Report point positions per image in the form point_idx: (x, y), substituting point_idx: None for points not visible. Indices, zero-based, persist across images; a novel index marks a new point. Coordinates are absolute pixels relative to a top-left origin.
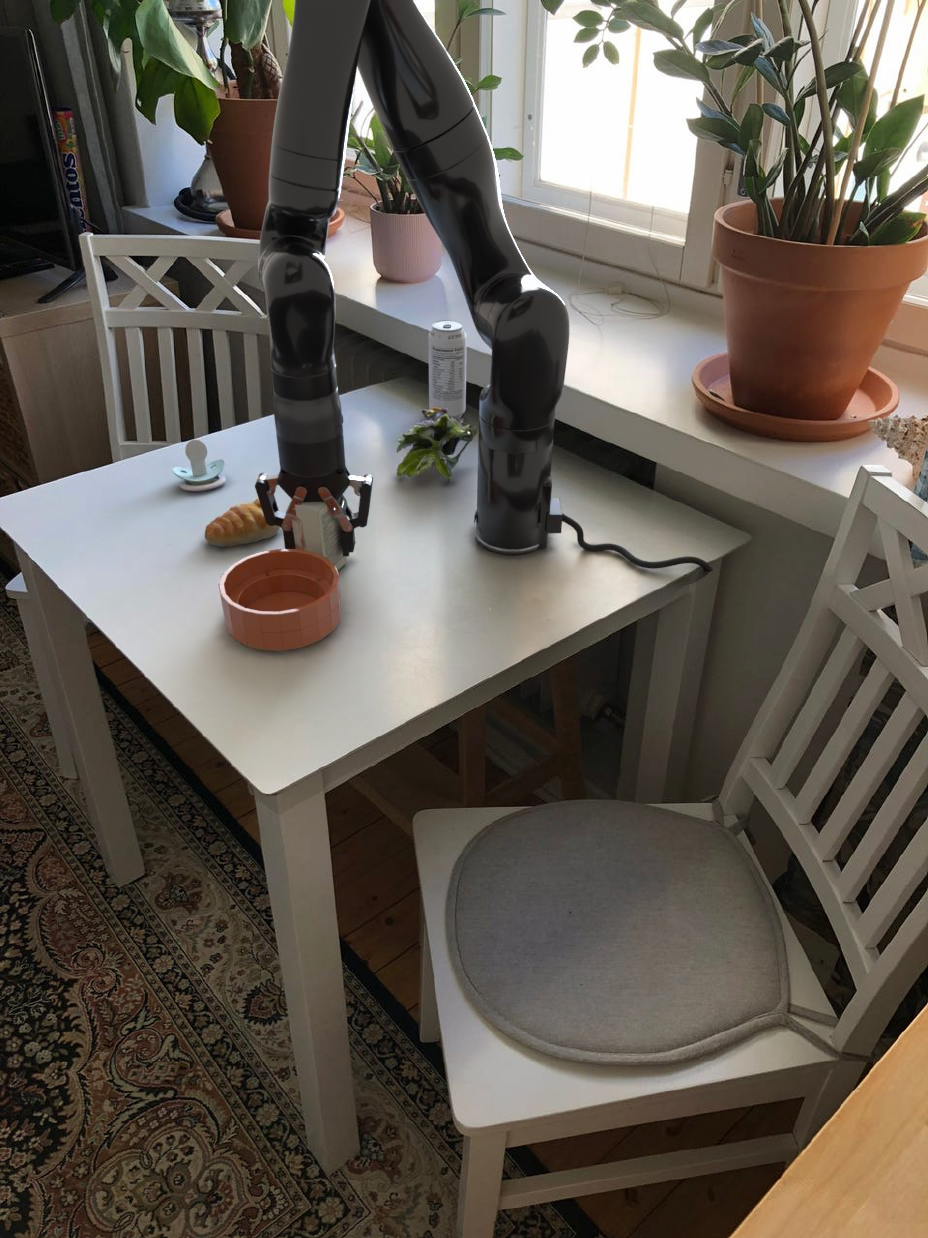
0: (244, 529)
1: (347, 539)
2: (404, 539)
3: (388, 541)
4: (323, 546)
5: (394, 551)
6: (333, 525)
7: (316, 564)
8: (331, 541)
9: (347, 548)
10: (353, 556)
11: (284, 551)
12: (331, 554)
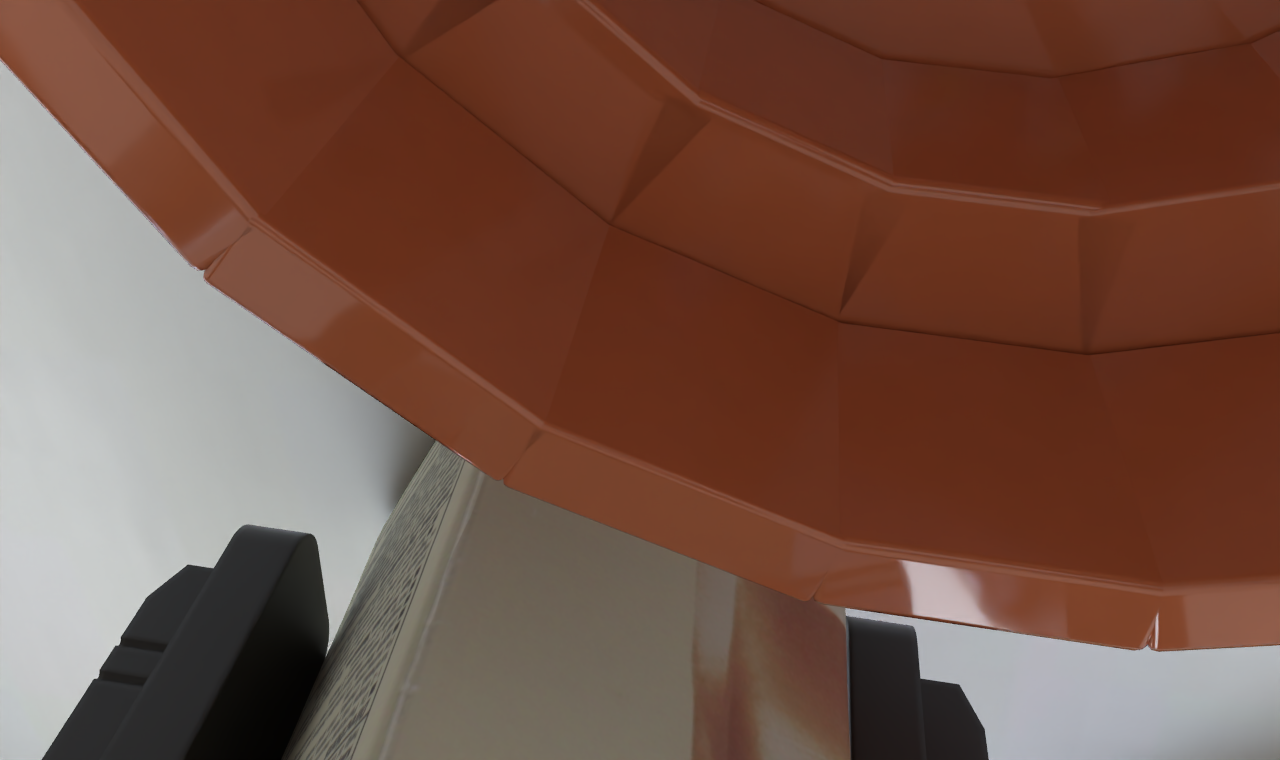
0: None
1: (140, 712)
2: (15, 712)
3: None
4: (408, 628)
5: (32, 604)
6: None
7: (473, 243)
8: (333, 709)
9: (198, 602)
10: (348, 596)
11: (1061, 576)
12: (405, 552)
